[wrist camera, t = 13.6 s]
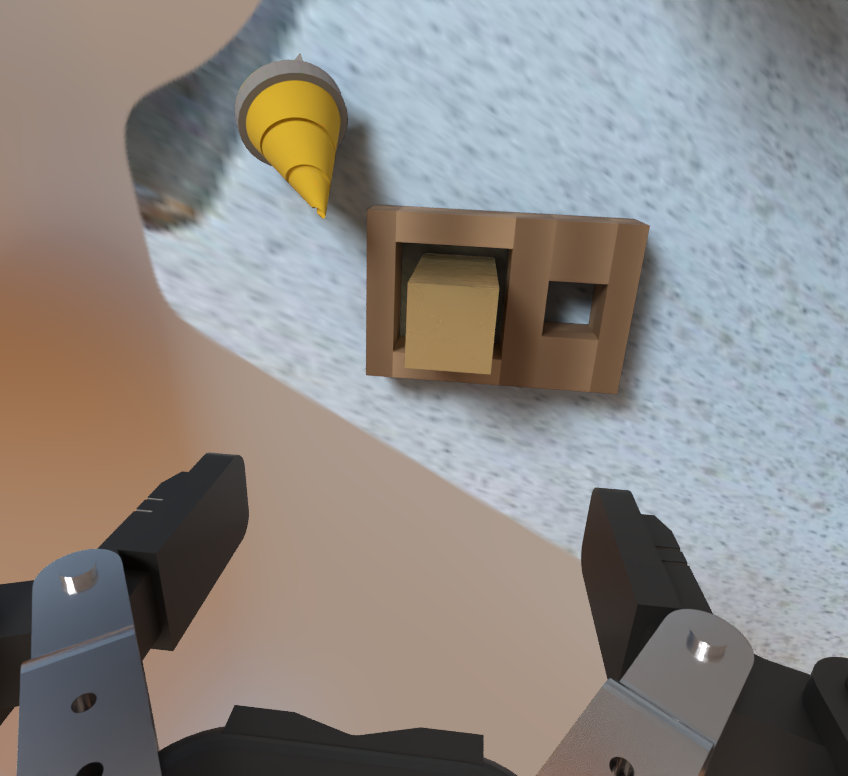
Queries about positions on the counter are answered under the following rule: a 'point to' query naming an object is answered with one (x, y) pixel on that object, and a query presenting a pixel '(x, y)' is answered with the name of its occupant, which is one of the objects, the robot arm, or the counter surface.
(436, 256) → the tan square peg
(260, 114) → the drill bit
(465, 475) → the counter surface
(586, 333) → the bore block
